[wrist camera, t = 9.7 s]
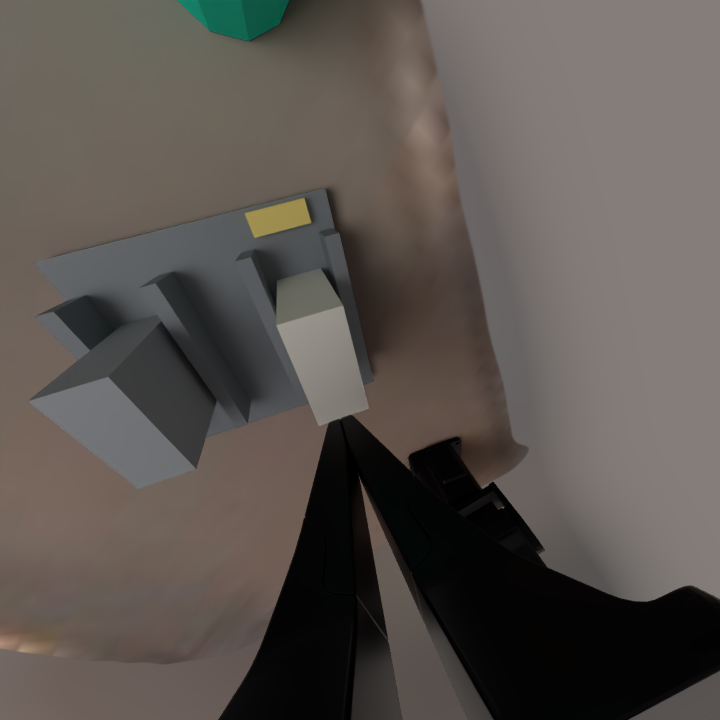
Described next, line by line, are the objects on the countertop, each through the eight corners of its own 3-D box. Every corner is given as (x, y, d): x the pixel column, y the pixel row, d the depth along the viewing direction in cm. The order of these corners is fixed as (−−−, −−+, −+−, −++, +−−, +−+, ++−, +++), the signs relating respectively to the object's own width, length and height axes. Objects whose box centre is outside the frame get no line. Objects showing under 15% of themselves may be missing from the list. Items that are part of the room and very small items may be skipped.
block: (342, 347, 20) (369, 408, 14) (306, 359, 20) (318, 425, 14) (320, 268, 17) (343, 305, 11) (277, 280, 16) (276, 325, 11)
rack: (368, 375, 23) (403, 445, 17) (195, 433, 22) (158, 536, 15) (322, 188, 15) (355, 181, 9) (47, 258, 14) (-163, 314, 7)
